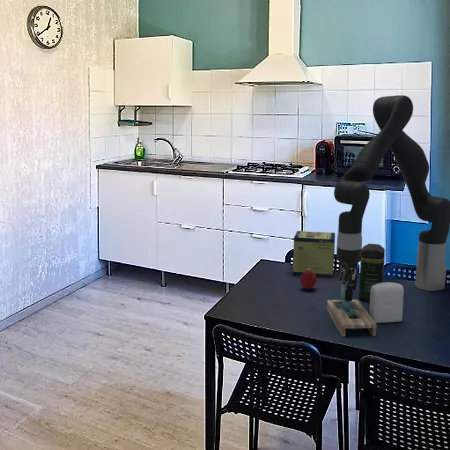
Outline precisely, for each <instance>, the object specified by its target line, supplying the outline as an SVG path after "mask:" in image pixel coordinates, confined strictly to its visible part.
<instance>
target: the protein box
mask: <svg viewBox="0 0 450 450" xmlns="http://www.w3.org/2000/svg"><path fill="white" fill-rule="evenodd" d="M335 244H336V232H328V231H327V232H323V231H322V232H321V231H307V230H298V231H296V232H295V235H294V237H293V251H292V252H293V253H292V254H293V257H292V258H293V259H292V260H293V261H292V275H293V276H300V277H301V275H302V274H303V273H304V272H305V271H307V268H310V270H311V271H312V272H313V273H314V274H315V275H316V278H329V279H332V278H333V275H334V267H335V266H334V265H335V250H336V249H335V248H336V247H335V246H336V245H335Z"/></svg>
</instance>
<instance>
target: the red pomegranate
mask: <svg viewBox="0 0 450 450" xmlns="http://www.w3.org/2000/svg"><path fill="white" fill-rule="evenodd" d="M299 279H300V284H301V285H302V287H304V289H306V290H310V289H312V288H314V286H315V285H316V284H317V281H318V277H316V275H315V274H314V273H313V272H312V271H311V270H310V268H307V271H305V272H304V273H303V274H302V275H301V276H300V278H299Z"/></svg>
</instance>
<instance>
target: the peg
mask: <svg viewBox="0 0 450 450" xmlns="http://www.w3.org/2000/svg"><path fill="white" fill-rule="evenodd" d="M350 286H351V285H350ZM340 287H341V288H340V289H341V290H340V298H341V299H342V300H343V304H342V306H341V307H340V308H337V309H338V310H345V312H346V313H347V315H348V317H349V318H350V319H354V318H355V313H354V309H353V308H351V304H350V301H346V300H345V284H341V286H340Z"/></svg>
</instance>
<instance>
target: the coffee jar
mask: <svg viewBox="0 0 450 450" xmlns="http://www.w3.org/2000/svg"><path fill="white" fill-rule="evenodd" d="M385 251H386V250H385V247H383V246H382V245H381V244H379V243H378V244H377V243H367V244H365V245H363V246H362V252H361V261H360V262H359V263H360V265H359V281H358V298H359V299H360V300H363V301H366V302H370V289H371V286H373V285H376V284H379V283H384V275H385V274H384V272H385V257H386V256H385Z"/></svg>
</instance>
